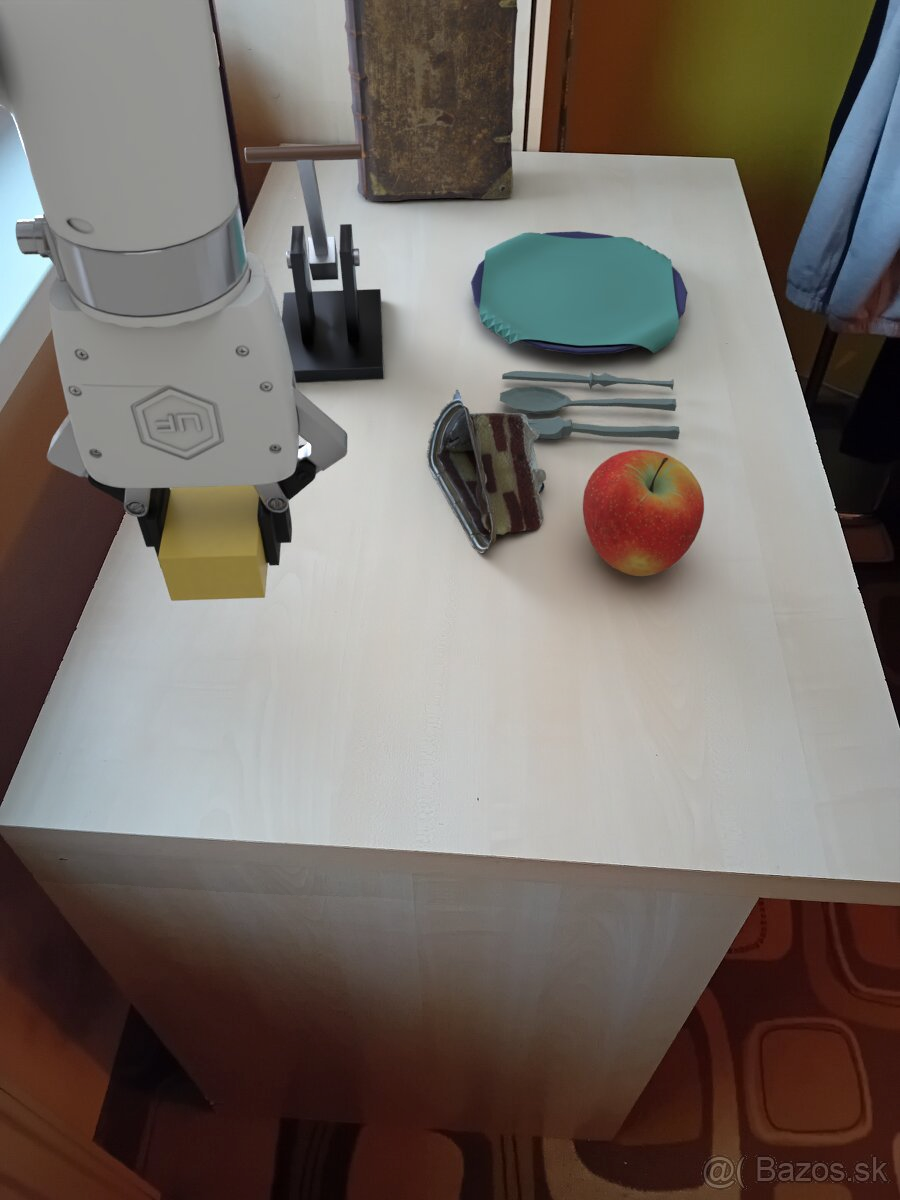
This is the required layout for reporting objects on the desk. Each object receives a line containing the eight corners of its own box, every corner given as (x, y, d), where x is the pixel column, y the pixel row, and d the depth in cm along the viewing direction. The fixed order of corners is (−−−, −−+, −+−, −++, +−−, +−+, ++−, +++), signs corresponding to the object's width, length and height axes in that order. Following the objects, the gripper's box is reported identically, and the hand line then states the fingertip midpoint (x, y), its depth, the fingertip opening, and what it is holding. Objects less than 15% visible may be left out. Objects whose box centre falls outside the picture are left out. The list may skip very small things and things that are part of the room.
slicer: (383, 378, 83) (377, 276, 76) (279, 383, 83) (261, 281, 75) (381, 300, 91) (374, 200, 83) (285, 303, 91) (270, 203, 83)
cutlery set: (676, 253, 96) (680, 231, 94) (701, 453, 77) (707, 431, 75) (477, 244, 97) (478, 222, 95) (453, 440, 78) (453, 417, 76)
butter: (170, 601, 52) (157, 558, 49) (185, 509, 56) (174, 465, 53) (265, 598, 52) (256, 555, 49) (272, 507, 56) (265, 463, 54)
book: (355, 203, 102) (333, -73, 83) (359, 171, 107) (339, -98, 88) (512, 203, 102) (527, -74, 83) (510, 171, 107) (522, -99, 88)
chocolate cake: (574, 546, 71) (566, 381, 70) (491, 552, 68) (481, 380, 67) (509, 548, 80) (500, 401, 79) (432, 554, 76) (422, 401, 76)
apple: (626, 501, 74) (646, 396, 66) (711, 559, 70) (743, 454, 62) (552, 554, 70) (565, 449, 62) (638, 618, 66) (662, 514, 59)
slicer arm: (361, 162, 66) (360, 131, 67) (244, 166, 66) (244, 135, 67) (372, 278, 82) (371, 252, 82) (278, 281, 82) (277, 255, 82)
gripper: (-86, 301, 37) (53, 605, 51) (360, 294, 38) (377, 594, 52) (-35, 204, 42) (80, 506, 56) (360, 199, 43) (375, 497, 57)
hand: (222, 546), depth 54 cm, fingers closed on butter, 5 cm apart
